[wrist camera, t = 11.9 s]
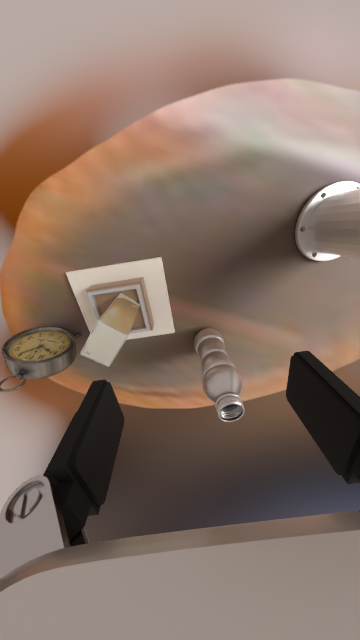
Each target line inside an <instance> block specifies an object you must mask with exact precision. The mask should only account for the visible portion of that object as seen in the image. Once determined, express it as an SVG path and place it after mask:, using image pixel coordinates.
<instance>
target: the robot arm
mask: <svg viewBox="0 0 360 640" xmlns="http://www.w3.org/2000/svg"><path fill="white" fill-rule="evenodd" d="M300 229H301V230H300ZM295 240H296V244H297V246H298V249H299V250H300V252H301V253H302V254H303V255H304V256H306V257H307V258H309V259H312V260H316V261H329V260H333V259H336V258H338V257H340V256H346V257H352V258H358V259H360V184H358V183H357V182H353V181H341V182H337V183H333V184H330V185H328V186H326V187H324V188H322V189H321V190H319V191H318V192H317V193H316V194H314V195H313V196H312V197H311V198H310V200H309V201H308V202H307V203H306V205H305V206H304V208H303V209H302V211H301V213H300V215H299V217H298V220H297V224H296V229H295ZM286 397H287V400H288V402H289V403H290V405H291V406H292V408H293V409H294V411H295V412H296V414H297V415H298V417H299V418H300V420H301V421H302V423H303V424H304V426H305V427H306V428H307V430H308V432H309V433H310V435H311V436H312V438H313V439H314V441H315V442H316V443H317V445H318V447H319V448H320V449H321V451H322V453H323V454H324V455H325V457H326V458H327V460H328V461H329V463H330V464H331V466H332V467H333V469H334V470H335V472H336V473H337V474H338V475H342V476H343V478H344V479H345V481H346V482H347V484H352V483H360V397H359V396H358V395H357V394H356V393H355V392H354V391H353V390H351V389H350V388H349V387H348V386H347V385H346V384H345V383H344V382H343V381H342V380H340V379H339V378H338V377H337V376H336V375H335V374H334V373H333V372H332V371H330V370H329V369H328V368H327V367H326V366H325V365H324V364H323V363H322V362H320V361H319V360H318V359H317V358H316V357H315V356H314V355H313V354H312V353H310V352H309V351H302V352H296V353H294V356H292V357H291V361H290V368H289V376H288V383H287V391H286ZM123 425H124V416H123V413H122V411H121V408H120V406H119V403H118V401H117V398H116V396H115V393H114V391H113V388H112V386H111V384H110V382H107V381H106V380H98V381H93V382H92V384H91V386H90V388H89V390H88V392H87V394H86V396H85V398H84V400H83V402H82V404H81V406H80V408H79V409H78V411H77V412H76V414H75V415H74V417H73V419H72V421H71V423H70V425H69V427H68V428H67V430H66V433H65V434H64V436H63V438H62V440H61V442H60V444H59V446H58V448H57V450H56V452H55V454H54V456H53V457H52V460H51V461H50V463H49V465H48V467H47V469H46V471H45V473H44V475H43V476H36V477H33V478H30V479H29V480H27V481H25V482H24V483H23V484H21V485H20V486H19V487H18V488H17V489H16V490H15V491H14V492H13V493H12V494H11V496H10V497H9V498H8V500H7V501H6V503H5V505H4V507H3V509H2V511H1V513H0V640H360V511H351V512H341V513H332V514H323V515H314V516H305V517H297V518H288V519H279V520H270V521H262V522H253V523H244V524H236V525H227V526H219V527H211V528H203V529H194V530H186V531H179V532H170V533H162V534H154V535H145V536H137V537H130V538H122V539H116V540H108V541H101V542H95V543H89V541H88V538H87V535H86V532H85V529H84V526H85V523H86V520H87V516H90V515H98V514H99V510H100V506H101V505H103V504H104V502H105V499H106V495H107V491H108V487H109V483H110V479H111V475H112V471H113V466H114V462H115V458H116V454H117V450H118V446H119V442H120V438H121V433H122V430H123Z"/></svg>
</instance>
